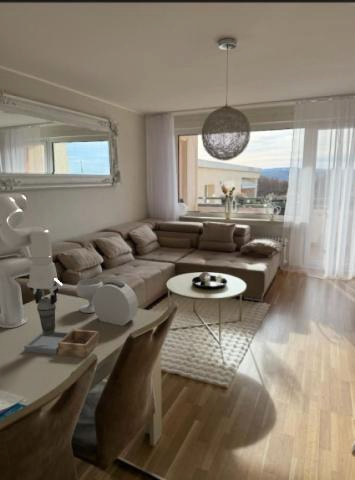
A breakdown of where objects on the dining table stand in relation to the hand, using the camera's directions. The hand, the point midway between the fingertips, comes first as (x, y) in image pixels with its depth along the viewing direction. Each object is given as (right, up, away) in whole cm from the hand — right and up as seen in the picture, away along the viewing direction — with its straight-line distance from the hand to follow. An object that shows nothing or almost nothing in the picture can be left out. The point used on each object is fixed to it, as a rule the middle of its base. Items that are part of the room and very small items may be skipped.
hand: (46, 302), depth 136 cm
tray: (0, -18, +4) cm, 19 cm away
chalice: (+8, -11, +40) cm, 42 cm away
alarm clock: (+24, -14, +26) cm, 38 cm away
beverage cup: (0, -14, +3) cm, 14 cm away
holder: (+14, -19, 0) cm, 23 cm away
